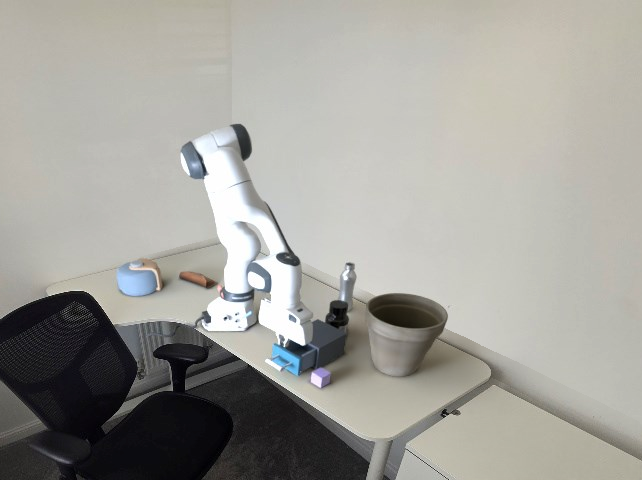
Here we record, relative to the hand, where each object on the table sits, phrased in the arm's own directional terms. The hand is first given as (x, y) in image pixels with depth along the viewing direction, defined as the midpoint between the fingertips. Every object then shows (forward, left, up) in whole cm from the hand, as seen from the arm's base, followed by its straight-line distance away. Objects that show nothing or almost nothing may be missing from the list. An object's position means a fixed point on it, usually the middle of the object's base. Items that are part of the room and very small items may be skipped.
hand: (283, 345), depth 141 cm
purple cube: (+11, -7, -11) cm, 18 cm away
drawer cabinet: (+15, +9, -11) cm, 21 cm away
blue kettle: (-48, +78, -12) cm, 93 cm away
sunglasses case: (-21, +79, -12) cm, 83 cm away
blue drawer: (+5, +3, -11) cm, 12 cm away
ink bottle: (+27, +22, -12) cm, 37 cm away
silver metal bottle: (+37, +39, -12) cm, 55 cm away
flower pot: (+39, -3, -12) cm, 41 cm away
